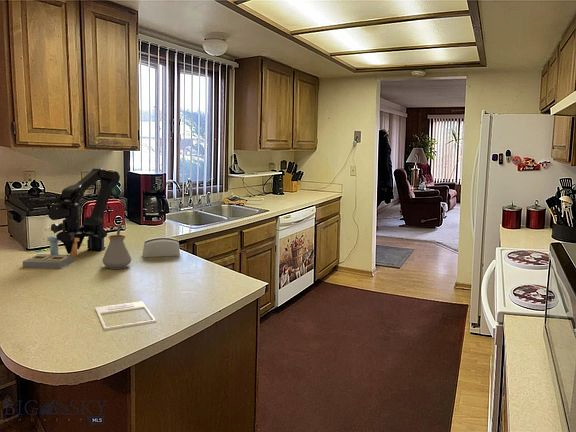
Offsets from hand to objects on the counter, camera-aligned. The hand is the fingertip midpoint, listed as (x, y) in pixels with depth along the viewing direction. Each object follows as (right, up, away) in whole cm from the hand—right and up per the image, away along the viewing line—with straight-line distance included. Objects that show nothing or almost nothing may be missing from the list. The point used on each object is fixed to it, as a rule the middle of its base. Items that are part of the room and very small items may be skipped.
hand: (73, 251), depth 208 cm
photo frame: (+45, -15, -64) cm, 80 cm away
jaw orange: (0, -2, 0) cm, 2 cm away
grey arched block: (+37, -3, +7) cm, 38 cm away
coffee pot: (+23, -5, -8) cm, 25 cm away
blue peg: (-9, -2, +1) cm, 9 cm away
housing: (-4, -4, -14) cm, 15 cm away
